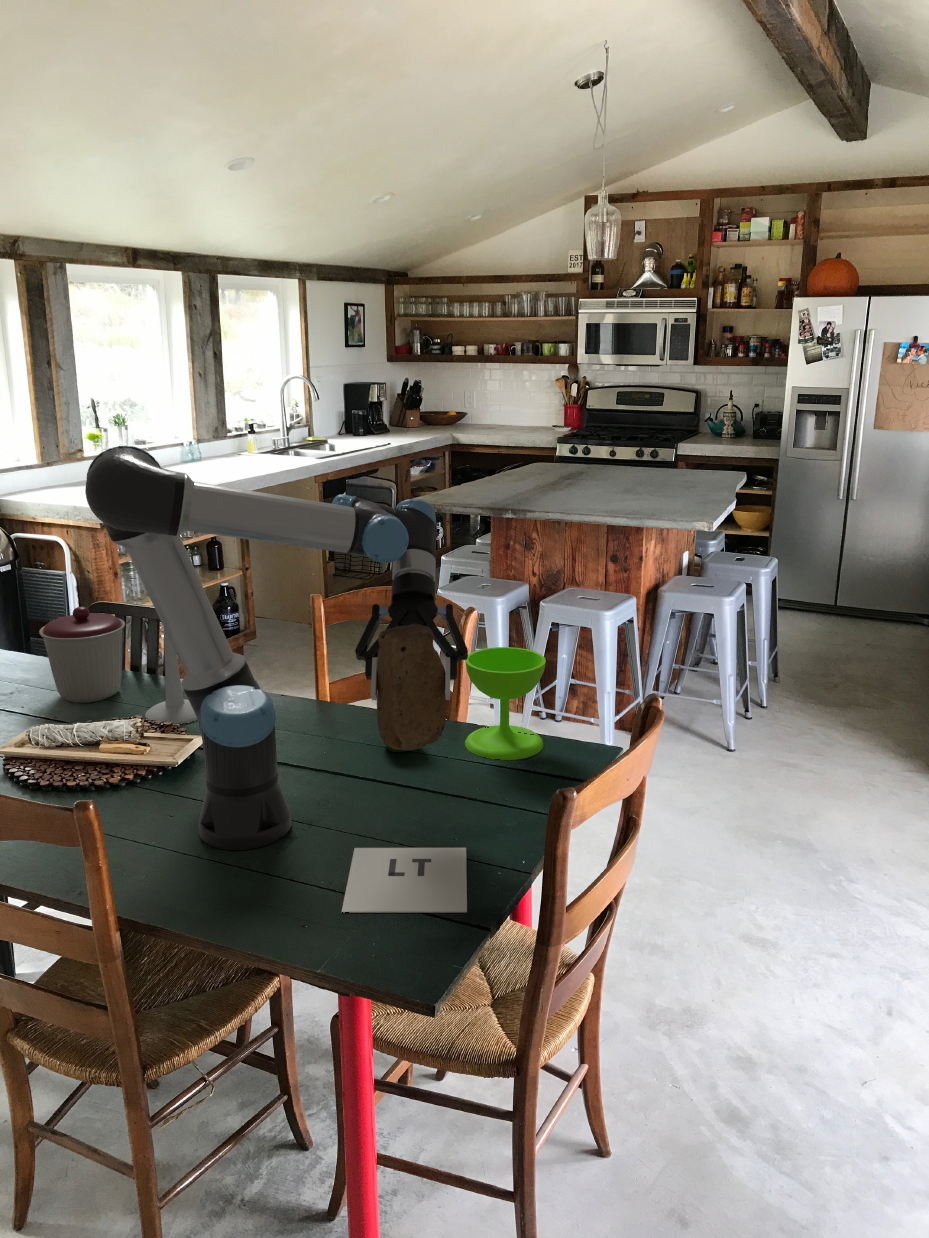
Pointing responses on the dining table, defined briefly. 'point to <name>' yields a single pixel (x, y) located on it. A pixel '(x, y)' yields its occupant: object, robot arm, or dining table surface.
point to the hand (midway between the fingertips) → (410, 696)
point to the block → (410, 688)
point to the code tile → (407, 881)
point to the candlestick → (172, 692)
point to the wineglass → (504, 699)
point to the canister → (85, 654)
